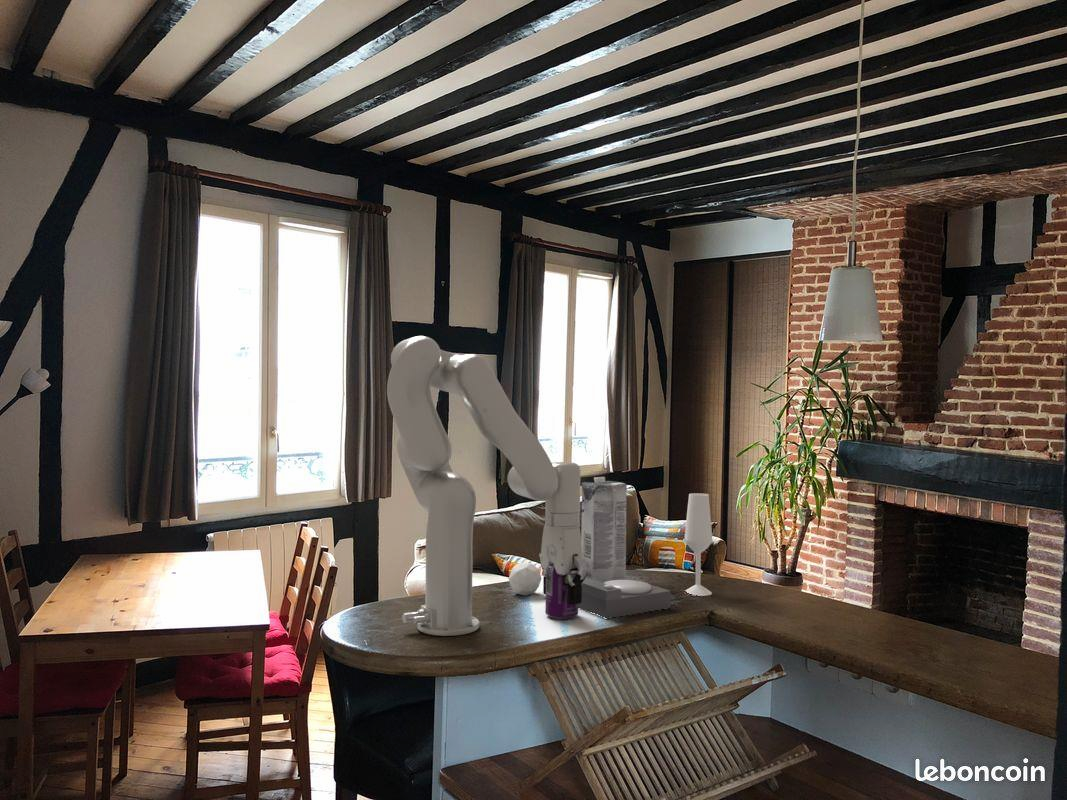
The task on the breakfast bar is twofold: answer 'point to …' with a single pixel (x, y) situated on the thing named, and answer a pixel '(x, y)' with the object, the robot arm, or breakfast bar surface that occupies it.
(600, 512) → the juice carton
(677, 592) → the breakfast bar surface
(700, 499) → the champagne flute
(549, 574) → the beverage can
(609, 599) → the grey display pedestal
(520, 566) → the geometric ball
